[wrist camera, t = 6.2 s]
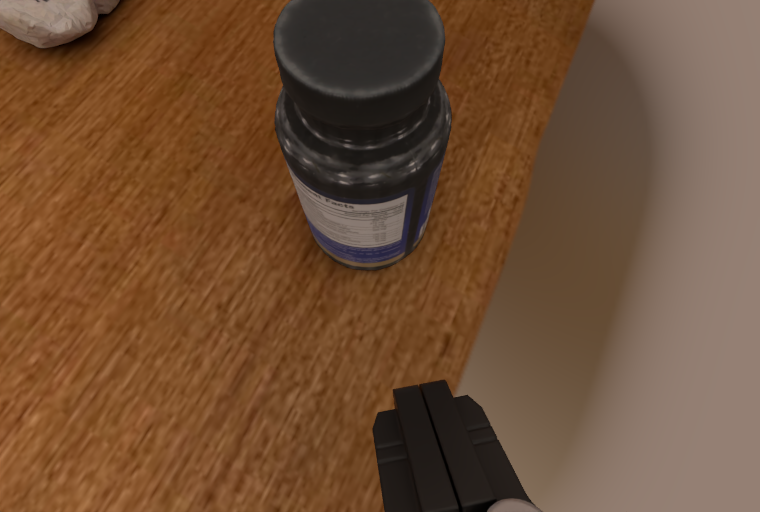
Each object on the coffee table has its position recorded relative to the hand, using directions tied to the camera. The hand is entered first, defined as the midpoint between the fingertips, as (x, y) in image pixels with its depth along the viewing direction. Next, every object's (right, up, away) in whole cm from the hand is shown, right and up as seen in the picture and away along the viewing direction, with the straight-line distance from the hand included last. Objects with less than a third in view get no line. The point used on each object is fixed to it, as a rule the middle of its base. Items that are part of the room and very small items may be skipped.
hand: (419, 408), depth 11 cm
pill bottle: (-2, +6, +10) cm, 12 cm away
